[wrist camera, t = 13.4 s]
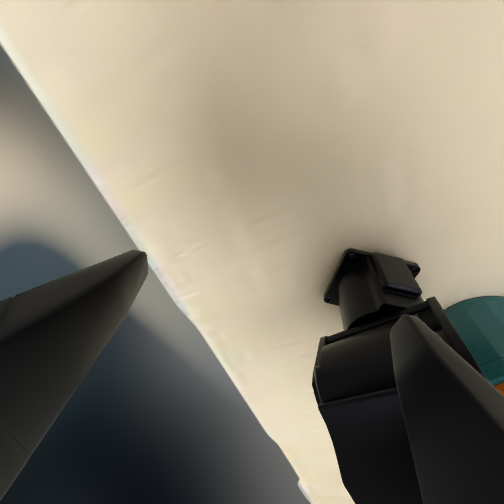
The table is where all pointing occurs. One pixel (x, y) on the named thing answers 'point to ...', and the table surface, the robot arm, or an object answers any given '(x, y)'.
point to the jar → (482, 332)
